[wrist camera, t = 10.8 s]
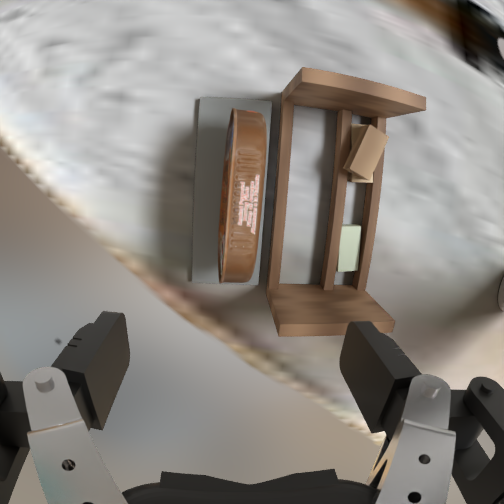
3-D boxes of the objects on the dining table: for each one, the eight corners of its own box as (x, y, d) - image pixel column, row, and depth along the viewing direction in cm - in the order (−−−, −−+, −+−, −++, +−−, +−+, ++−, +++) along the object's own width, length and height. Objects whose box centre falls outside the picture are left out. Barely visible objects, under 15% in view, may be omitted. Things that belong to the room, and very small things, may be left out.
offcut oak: (380, 137, 28) (388, 136, 27) (362, 179, 29) (369, 180, 28) (362, 126, 28) (369, 124, 26) (342, 168, 29) (349, 168, 27)
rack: (379, 109, 29) (426, 97, 20) (357, 294, 35) (392, 332, 26) (281, 92, 28) (302, 66, 19) (265, 293, 34) (278, 336, 25)
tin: (228, 115, 28) (228, 97, 20) (260, 118, 28) (273, 102, 20) (216, 264, 32) (213, 299, 24) (246, 266, 32) (253, 301, 24)
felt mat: (271, 102, 28) (271, 101, 28) (257, 283, 33) (258, 285, 33) (200, 98, 28) (200, 96, 27) (192, 280, 33) (192, 282, 32)
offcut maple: (364, 127, 30) (372, 125, 28) (365, 181, 32) (372, 182, 30) (344, 125, 30) (351, 123, 28) (345, 180, 31) (352, 182, 30)
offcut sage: (356, 223, 33) (361, 226, 32) (353, 266, 34) (357, 270, 33) (336, 223, 33) (340, 226, 31) (333, 267, 34) (337, 271, 33)
